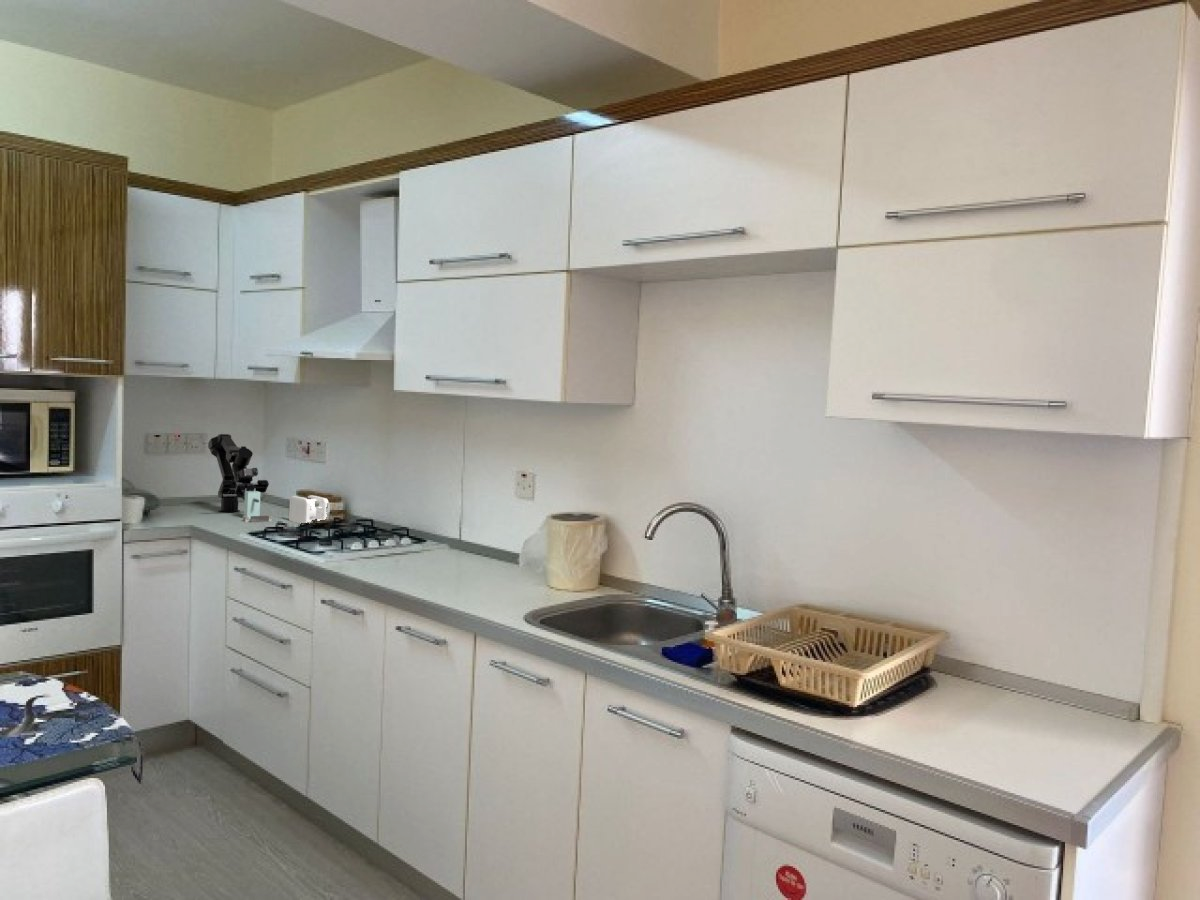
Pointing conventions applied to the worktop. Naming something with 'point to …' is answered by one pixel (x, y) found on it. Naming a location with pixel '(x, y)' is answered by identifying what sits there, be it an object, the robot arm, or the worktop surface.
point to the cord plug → (252, 504)
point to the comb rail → (258, 518)
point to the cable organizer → (307, 509)
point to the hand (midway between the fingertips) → (248, 502)
